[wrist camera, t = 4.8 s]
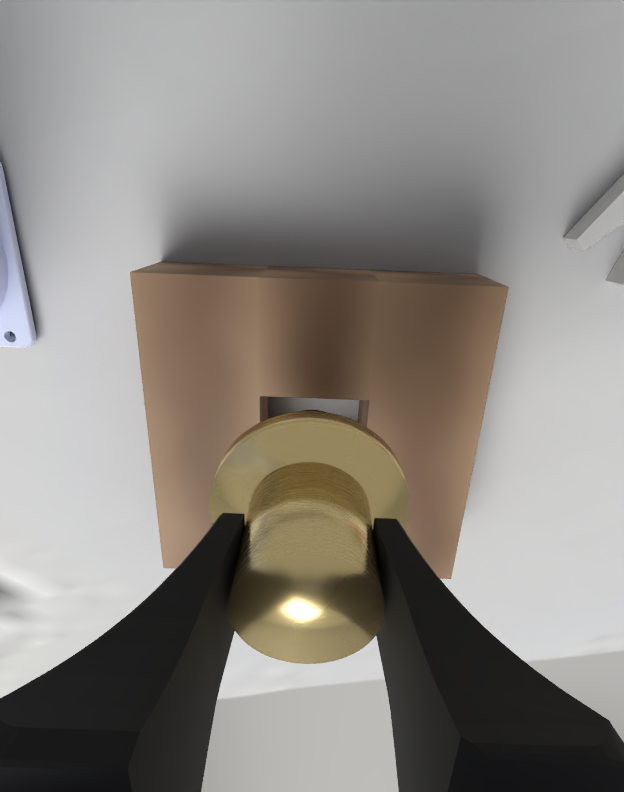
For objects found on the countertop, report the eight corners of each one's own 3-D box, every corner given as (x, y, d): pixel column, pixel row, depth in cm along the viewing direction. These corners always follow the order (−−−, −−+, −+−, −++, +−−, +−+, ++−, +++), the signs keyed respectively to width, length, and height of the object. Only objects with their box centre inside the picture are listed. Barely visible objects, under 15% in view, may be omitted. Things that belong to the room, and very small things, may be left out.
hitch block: (183, 522, 25) (163, 568, 22) (160, 262, 20) (129, 272, 17) (434, 531, 25) (450, 578, 22) (477, 274, 20) (508, 286, 17)
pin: (237, 508, 18) (190, 691, 12) (225, 370, 16) (158, 506, 9) (385, 510, 18) (422, 696, 12) (399, 372, 16) (455, 511, 9)
